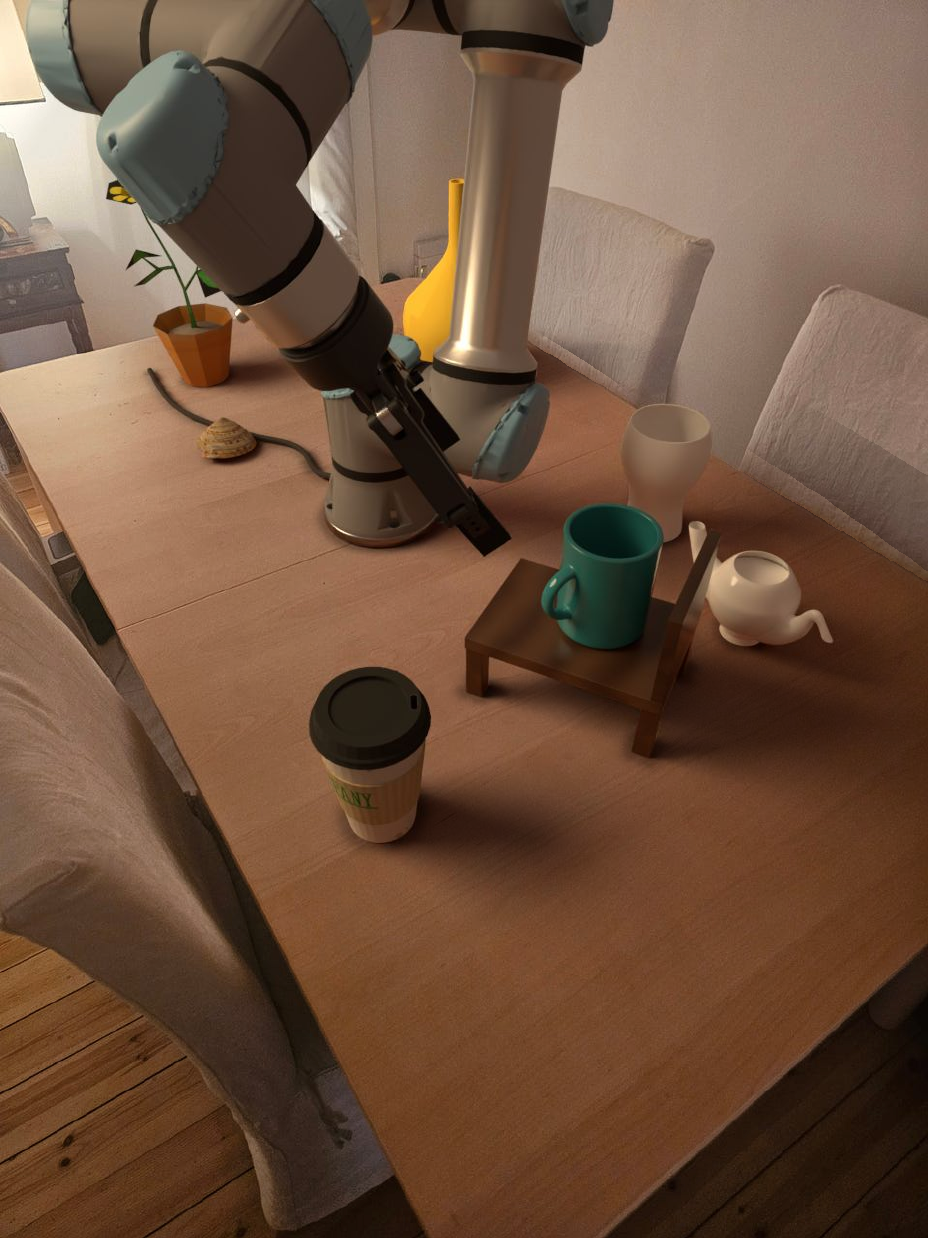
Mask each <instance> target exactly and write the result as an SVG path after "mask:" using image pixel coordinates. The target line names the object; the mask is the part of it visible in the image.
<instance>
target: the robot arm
mask: <svg viewBox="0 0 928 1238" xmlns="http://www.w3.org/2000/svg"><path fill="white" fill-rule="evenodd" d="M614 1H615V0H30V2H29V5H28V8H27V12H26V21H25V30H26V31H25V33H26V35H25V36H26V42H27V47H28V50H29V53H30V56H31V61H32V63H33V65H34V67H35V70H36V73H37V75H38V77H39V78H40V81H41V82H42V84H43V85H44V87H46V89H47V90H48V92H49V93H50V94H51V95H52V96H53V97H54V98H55V99H56V100H57V101H58V102H60V103H61V104H62V105H64V106H66V107H67V108H69V109H71V110H73V111H76V112H79V113H84V114H91V115H96V116H99V117H100V120H99V122H98V124H97V128H96V135H95V143H96V148H97V151H98V154H99V157H100V158H101V160H102V161H103V163H104V164H105V166H106V167H107V168H108V169H109V171H110V172H111V173H112V174H113V176H114V177H115V178H116V180H118V181H119V183H120V184H121V185H122V186H123V187H124V188H125V189H126V191H127V192H128V193H129V194H130V195H131V196H132V198H133V199H134V200H135V201H136V202H137V203H136V204H137V205H138V206H139V208H140V207H141V208H142V209H143V211H144V214H145V215H146V216H147V218H148V220H149V221H151V222H152V224H156V225H157V226H158V227H159V228H160V229H161V231H163V232H164V233H165V234H166V235H167V236H168V237H169V238H170V239H171V240H172V241H173V242H174V244H176V246H178V248H179V249H181V251H182V252H183V253H184V254H185V255H186V256H187V257H188V258H189V259H190V260H191V261H192V262H193V263H194V264H195V266H196V267H197V266H198V269H199V270H200V269H201V270H202V271H203V272H204V274H205V275H206V276H207V277H208V278H209V279H210V280H211V281H212V282H213V283H214V284H215V285H216V286H217V287H218V288H219V289H220V290H221V291H220V292H222V293H223V294H224V295H225V296H226V297H227V298H228V300H229V301H231V302H232V303H233V304H234V305H235V306H236V309H235V311H234V313H233V314H234V316H235V319H236V321H237V322H238V323H240V324H243V325H245V324H246V323H247V322H249V321H251V322H252V323H253V324H254V326H255V328H256V329H257V330H258V331H259V332H260V334H261V335H262V336H263V337H264V338H265V339H266V340H267V341H268V342H269V343H270V344H271V345H272V346H273V347H275V348H278V353H279V354H280V356H281V357H282V358H283V359H284V360H285V361H286V363H288V365H290V367H291V368H292V369H293V370H294V371H295V372H296V373H297V374H298V375H299V376H300V377H301V379H302V380H303V381H304V382H305V383H306V384H307V385H308V386H309V387H311V388H312V389H314V390H317V391H320V393H321V397H322V401H323V407H324V412H325V421H326V429H327V435H328V441H329V449H330V455H331V463H332V467H331V471H330V472H326V471H322V470H321V469H319V468H318V467H317V465H316V464H315V462H314V460H313V459H312V457H311V455H310V453H309V452H308V451H307V450H306V449H305V448H304V447H303V446H301V445H300V444H298V443H296V442H293V441H291V440H287V439H285V438H280V437H275V436H270V435H264V434H260V433H255V432H251V431H249V432H250V433H251V434H252V435H253V436H254V438H255V440H259V441H264V442H269V443H273V444H279V445H282V446H287V447H289V448H292V449H294V450H296V451H297V452H299V453H300V454H301V455H302V456H303V457H304V459H305V461H306V463H307V464H308V467H309V468H310V470H311V471H312V472H313V473H314V474H315V475H317V476H318V477H320V478H322V479H323V478H324V479H329V481H328V485H327V489H326V493H325V498H324V507H323V509H324V510H323V511H324V517H325V518H324V519H325V523H326V525H327V527H328V528H329V530H330V532H332V533H333V534H334V535H335V536H336V537H338V538H339V539H341V540H343V541H345V542H346V543H347V542H348V543H350V544H353V545H356V546H361V547H368V548H389V547H395V546H396V547H397V546H400V545H405V544H407V543H412V542H414V541H415V540H418V539H420V538H421V537H423V536H425V535H426V534H428V533H429V532H430V531H431V530H432V529H433V528H434V527H435V526H436V524H437V525H440V524H443V525H444V527H446V528H447V529H448V530H452V529H453V528H455V527H456V528H457V530H458V531H459V532H460V533H461V534H462V535H463V536H464V537H465V538H466V539H467V541H469V543H470V544H471V545H472V546H473V547H474V548H475V549H476V550H477V552H479V553H480V554H481V556H482V557H483V558H486V557H487V556H488V555H490V554H491V553H493V552H494V551H496V550H498V549H499V548H501V547H502V546H504V545H505V544H506V543H508V542H510V541H511V540H512V539H513V538H512V536H511V533H510V532H509V531H508V530H507V529H506V527H505V526H504V525H503V524H502V522H501V521H500V520H499V519H498V518H497V516H496V515H495V514H494V513H493V511H492V510H491V509H490V508H489V507H488V506H487V504H486V503H485V502H484V500H483V499H482V498H481V497H480V496H479V495H478V494H477V492H476V491H475V490H474V489H473V487H472V486H468V487H467V485H466V483H465V482H464V481H463V478H461V476H460V475H462V476H466V477H470V478H472V480H475V481H476V480H477V481H480V480H485V481H489V482H494V483H500V484H506V483H510V482H512V481H514V480H516V479H517V478H518V477H520V475H522V473H523V472H524V471H525V470H526V469H527V467H528V465H529V464H530V462H531V460H532V459H533V456H534V455H535V453H536V451H537V449H538V446H539V444H540V441H541V440H542V437H543V433H544V431H545V428H546V424H547V420H548V416H549V412H550V406H551V405H550V404H551V402H550V397H551V394H550V390H549V388H548V387H547V386H545V385H543V383H541V382H538V381H536V379H537V372H538V365H539V363H538V362H537V360H536V358H535V357H534V356H533V354H532V353H531V352H530V350H529V348H528V339H529V338H528V337H529V332H530V324H531V317H532V310H533V304H534V296H535V288H536V283H537V282H536V281H537V274H538V267H539V260H540V252H541V246H542V238H543V231H544V224H545V218H546V210H547V202H548V196H549V195H548V194H549V188H550V183H551V182H550V181H551V174H552V167H553V161H554V155H555V154H554V153H555V146H556V139H557V133H558V124H559V118H560V110H561V104H562V97H563V96H562V95H563V91H564V89H565V88H566V86H567V85H568V83H570V82H571V81H572V80H573V79H574V78H575V77H576V76H578V74H580V72H582V69H583V62H584V56H585V50H586V46H587V47H590V48H593V47H594V46H595V45H598V44H600V43H601V42H602V41H603V40H604V39H605V37H606V35H607V34H608V30H609V23H610V22H611V19H612V15H613V9H614ZM398 30H400V31H412V32H413V31H414V32H423V33H433V34H440V35H451V36H460V37H461V42H460V53H459V56H460V58H461V59H462V61H463V62H464V64H465V66H466V67H467V68H468V69H469V72H470V73H471V76H472V79H473V83H472V94H471V105H470V114H469V124H468V135H467V144H466V145H467V146H466V155H465V168H464V178H463V179H464V186H463V196H462V207H461V217H460V228H459V238H458V248H457V259H456V269H455V279H454V290H453V300H452V311H451V321H450V331H449V337H448V338H447V340H446V341H445V342H443V343H442V344H441V345H440V346H439V347H437V348H436V349H435V350H434V354H433V362H428V361H424V360H421V359H420V357H421V350H420V349H419V346H418V344H417V343H416V341H414V340H413V339H412V338H410V337H408V336H405V335H404V334H399V333H397V334H396V333H394V320H393V316H392V314H391V312H390V310H389V309H388V307H387V306H386V305H385V304H384V301H382V300H381V298H380V297H379V296H378V294H377V293H376V292H375V290H374V289H373V288H372V286H371V285H370V284H369V283H368V281H367V280H366V279H365V278H364V277H363V276H361V275H360V273H359V268H358V267H357V265H356V264H355V263H354V261H353V259H351V257H350V255H349V254H348V253H347V252H346V250H345V249H344V247H342V245H341V244H340V242H339V241H338V239H337V238H336V237H335V236H334V234H333V233H332V231H330V229H329V228H328V226H327V225H326V223H325V222H324V221H323V220H322V219H321V218H320V217H319V215H318V214H317V213H316V212H315V211H314V209H313V208H312V206H311V205H310V204H309V202H308V201H307V199H306V198H305V196H304V194H303V193H302V192H301V190H300V189H299V187H298V186H297V184H298V182H299V181H300V179H301V178H302V176H303V174H304V172H305V170H306V169H307V168H308V167H309V165H310V162H311V160H312V159H313V157H314V156H315V155H316V152H317V151H318V149H319V147H320V146H321V144H323V141H324V140H325V138H326V136H327V135H328V133H329V131H331V128H332V127H333V125H334V124H335V122H336V120H337V119H338V117H339V116H340V114H341V112H342V111H343V109H344V108H345V106H346V105H347V104H348V103H349V102H350V100H351V99H352V98H353V95H354V94H353V93H355V89H356V85H357V82H358V80H359V78H360V77H361V74H362V72H363V70H364V68H365V66H366V64H367V62H368V60H369V58H370V56H371V52H372V48H373V38H374V37H373V36H379V35H382V34H385V33H387V32H390V31H398ZM141 208H140V209H141ZM144 214H143V215H144ZM146 371H147V373H148V375H149V377H150V379H151V380H152V384H153V385H154V386H155V388H156V390H157V391H158V392H159V394H160V395H161V397H163V399H164V400H165V401H166V402H167V403H168V404H169V405H170V406H171V407H172V408H174V409H175V410H176V411H177V412H179V413H181V414H182V415H184V416H185V417H187V418H190V419H191V420H193V421H195V422H198V423H200V424H203V425H206V426H207V427H209V426H210V425H211V424H213V423H214V422H215V421H212V420H210V419H208V418H207V419H206V418H204V417H202V416H199V415H197V414H194V413H193V412H190V411H189V410H187V409H186V408H184V407H182V406H180V405H179V404H178V403H176V402H175V401H174V400H173V399H172V398H171V397H170V396H169V395H168V393H167V392H166V391H165V390H164V388H163V386H162V385H161V384H160V382H159V380H158V378H157V375H156V374H155V372H154V370H153V369H152V368H151V367H148V368H147V370H146Z"/></svg>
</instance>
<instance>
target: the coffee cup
mask: <svg viewBox="0 0 928 1238" xmlns="http://www.w3.org/2000/svg"><path fill="white" fill-rule="evenodd" d="M431 724H432V714H431V709H430V705H429V703H428V701H427V698H426V697H425V695H424V694H423V692H422V691H421V690H420V689H419V687H417V685H416V684H415V683H414V682H413V680H412V679H410V678H409V677H408V676H406V675H405V674H403V673H401V672H400V671H398V670H395V669H391V668H389V667H382V666H363V667H362V666H361V667H357V668H353V669H350V670H347V671H344V672H343V673H340V674H338V675H337V676H335V677H334V678H332V679H331V680H330V681H328V683H326V684H325V685H324V686H323V688H321V690H320V692H319V693H318V696H317V698H316V700H315V702H314V704H313V706H312V708H311V711H310V715H309V721H308V732H309V734H308V735H309V737H310V740H311V743H312V745H313V746H314V748H315V749H316V751H317V752H318V753H319V754H320V757H321V759H322V762H323V765H324V768H325V769H326V773H327V775H328V778H329V780H330V783H331V785H332V787H333V790H334V792H335V796H336V797H337V801H338V803H339V806H340V807H341V809H342V810H343V812H344V814H345V815H346V818H347V821H348V823H349V826H350V828H351V829H352V831H353V832H354V833H355V835H356V836H358V838H360V839H361V840H364V841H367V842H369V843H374V844H384V843H390V842H393V841H396V840H398V839H400V838H401V837H403V836H404V835H406V834H407V833H408V832H409V830H410V829H412V827H413V825H414V823H415V820H416V817H417V808H418V807H417V806H418V801H419V797H420V794H421V785H422V780H423V779H422V778H423V770H424V761H425V753H426V752H425V751H426V743H427V742H426V740H427V737H428V735H429V731H430V729H431V726H432V725H431Z"/></svg>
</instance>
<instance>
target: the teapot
mask: <svg viewBox="0 0 928 1238" xmlns="http://www.w3.org/2000/svg"><path fill="white" fill-rule="evenodd" d="M688 532H689V533H688V534H689V540H690V548H691V555H692V560H693V563H694V562H695V560H696V558H697V556H698V553H699V551H700V549H701V547H702V545H703V542H704V540H705V538H706V536H707V534H708V532H707V528H706V525H705V524H704V523H703V522H701V521H699V520H693V521H691V522H689V524H688ZM705 599H706V600H707V601H708V604H709V608H710V611H711V613H712V615H713V617H714V618H715V619H716V620H717V622H718V623H719V626H718V627H719V633H720V635H721V636H722V637H723V638H724V640H726V641H727V642H729V643H731V644H733V645H737V646H740V647H752V646H755V645H757V644H759V643H761V644H764V645H770V646H782V645H787V644H791V643H793V642H796V641H798V640H801V639H802V638H804V637H805V636H806V635H807V634H808V633H809V632H810V631H811V629H812V627H813V625H814V624H816V625H817V627H818V630H819V634H820V637H821V640H822V641H824V642H826V643H829V644H832V643H833V642H834V639H833V637H832V635H831V632H830V631H829V627H828V625H827V622H826V620H825V618H824V615H823V613H822V612H821V611H820V610H817V609H809V610H806V611H805V612H803V613H801V614H799V615H796V613H797V612H798V609H799V607H800V604H801V600H802V589H801V586H800V584H799V582H798V579H797V577H796V574H795V573H794V571H793V569H792V568H791V566H790V565H789V564H788V563H787V562H786V561H785V560H783V558H781V557H780V556H777V555H775V554H773V553H770V552H767V551H761V550H744V551H741V552H738V553H735V554H733V555H732V556H730V557H729V558H727V559H725V561H723V562H722V561H721V560H720V558H718V556H717V555H716V559H715V563H714V567H713V570H712V574H711V578H710V582H709V586H708V590H707V594H706V597H705Z"/></svg>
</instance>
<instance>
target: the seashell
mask: <svg viewBox="0 0 928 1238" xmlns="http://www.w3.org/2000/svg"><path fill="white" fill-rule="evenodd" d="M213 422H214V423H213V424H211V425H210V426H207V428H206V429H204V430H203V432H202V433H201V435H200V437H199V438H198V439H197V440H196V442H195V445H194V447H195V449H197V450H200V451H201V452H202V453H201V456H202V458H203V459H229V458H235V457H239V456H243V455H245V454H247V453H249V452H251V451H253V450H254V449H255V448H256V446H257V444H258V443H257V439H255V438H254V436H253V435H252V434H251V433H250V432H251V431H249V430H248V429H247V428H245V427H244V426H242V425H241V424H238V423H237V422H236V421H234V420H232V419H229V418H227V417H221V418H219V419H218V420H215V421H213Z"/></svg>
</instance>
